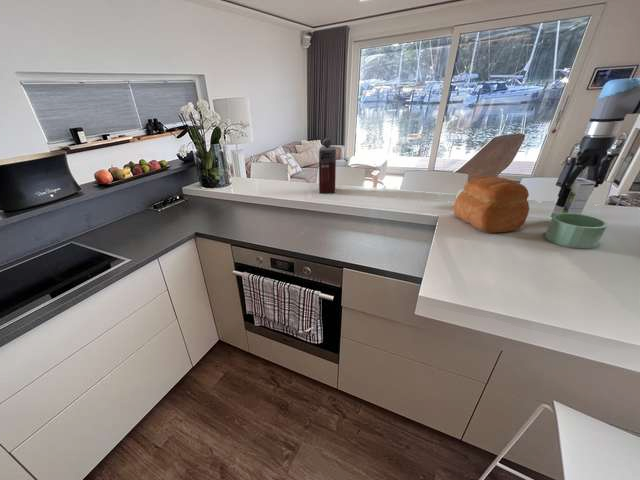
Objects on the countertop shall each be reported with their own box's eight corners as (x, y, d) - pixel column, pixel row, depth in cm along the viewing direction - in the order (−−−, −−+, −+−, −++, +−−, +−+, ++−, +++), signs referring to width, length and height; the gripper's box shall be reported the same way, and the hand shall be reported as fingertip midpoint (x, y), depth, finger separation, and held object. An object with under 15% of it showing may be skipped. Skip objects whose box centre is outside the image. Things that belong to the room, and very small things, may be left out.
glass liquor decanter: (319, 194, 159) (318, 140, 145) (319, 189, 169) (318, 138, 155) (335, 194, 158) (336, 139, 144) (334, 188, 167) (335, 136, 153)
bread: (481, 235, 102) (495, 189, 94) (447, 215, 121) (456, 174, 112) (529, 231, 103) (547, 184, 94) (487, 211, 121) (500, 170, 113)
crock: (573, 230, 100) (582, 212, 97) (608, 247, 89) (620, 226, 86) (535, 233, 101) (542, 214, 98) (565, 249, 90) (575, 229, 86)
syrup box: (549, 216, 109) (564, 178, 102) (567, 216, 108) (584, 177, 101) (560, 222, 104) (576, 182, 97) (579, 221, 103) (597, 181, 96)
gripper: (619, 131, 94) (588, 200, 106) (558, 137, 96) (534, 204, 107) (644, 134, 88) (608, 206, 99) (578, 139, 89) (550, 210, 100)
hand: (569, 205), depth 103 cm, fingers closed on syrup box, 6 cm apart
